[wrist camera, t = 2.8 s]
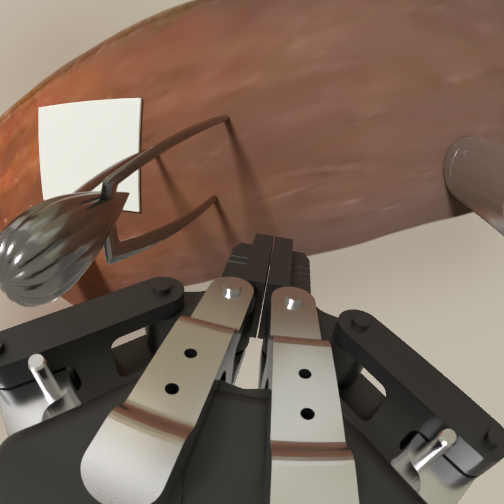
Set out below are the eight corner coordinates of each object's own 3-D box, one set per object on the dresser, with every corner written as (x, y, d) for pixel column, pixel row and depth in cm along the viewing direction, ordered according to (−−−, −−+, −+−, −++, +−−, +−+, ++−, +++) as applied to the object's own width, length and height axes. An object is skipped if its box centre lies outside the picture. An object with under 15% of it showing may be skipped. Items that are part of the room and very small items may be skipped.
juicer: (214, 201, 39) (77, 386, 13) (150, 149, 37) (-52, 254, 11) (263, 144, 35) (149, 278, 9) (193, 89, 33) (-36, 98, 6)
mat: (142, 98, 34) (140, 97, 33) (140, 211, 41) (138, 212, 41) (40, 107, 35) (38, 107, 35) (45, 199, 43) (43, 199, 43)
